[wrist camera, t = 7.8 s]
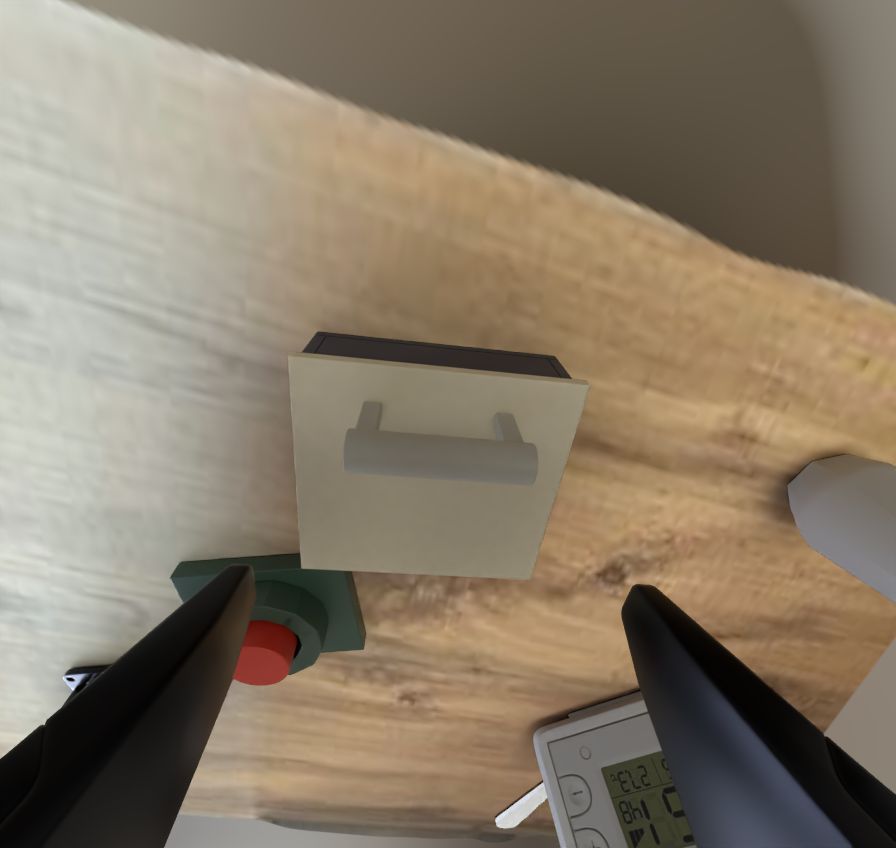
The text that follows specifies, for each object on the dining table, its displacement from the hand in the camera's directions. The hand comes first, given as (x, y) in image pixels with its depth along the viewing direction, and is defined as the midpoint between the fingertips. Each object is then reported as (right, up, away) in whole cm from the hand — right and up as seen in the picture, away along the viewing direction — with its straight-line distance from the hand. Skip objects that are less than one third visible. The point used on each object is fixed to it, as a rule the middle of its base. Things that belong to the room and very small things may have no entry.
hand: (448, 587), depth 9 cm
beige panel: (-1, +1, +9) cm, 9 cm away
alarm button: (-11, -9, +16) cm, 21 cm away
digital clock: (+15, -21, +27) cm, 37 cm away
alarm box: (-11, -8, +18) cm, 23 cm away
